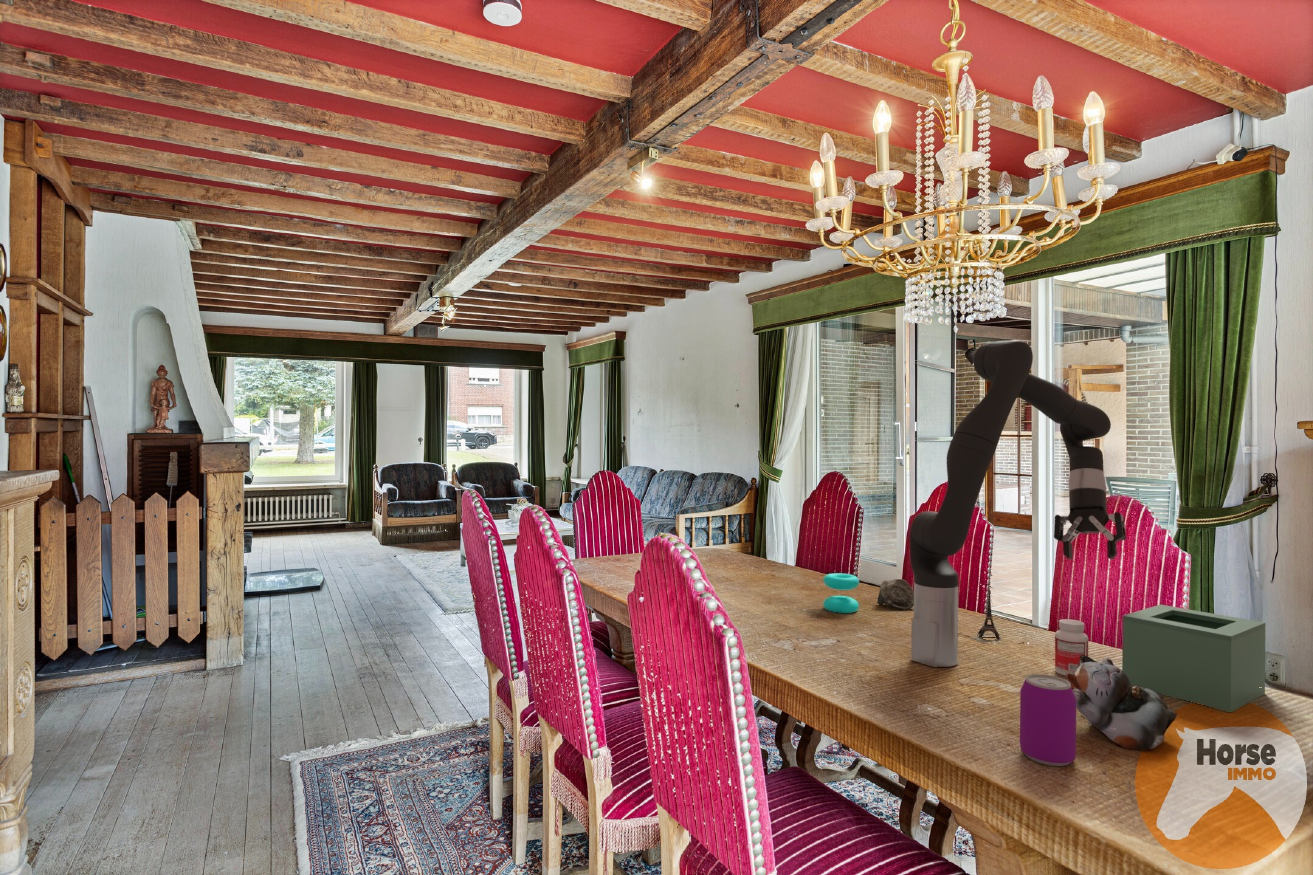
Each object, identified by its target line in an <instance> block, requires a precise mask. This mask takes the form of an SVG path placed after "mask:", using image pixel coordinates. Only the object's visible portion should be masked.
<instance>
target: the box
mask: <svg viewBox="0 0 1313 875" xmlns="http://www.w3.org/2000/svg"><path fill="white" fill-rule="evenodd" d="M1121 650H1122V654H1121V655H1122V657H1121V658H1122V659H1121V661H1122V664H1121V665H1122V668H1121V670H1122V671H1123V672H1124V673H1125V674H1126V675H1127V677H1128V678H1129V680H1130V682H1131V684H1132V685H1133V686H1138V687H1143V688H1147V689H1150V690H1152V691H1154V692H1155V693H1157V694H1158V695H1160V696H1161V695H1162V696H1166V697H1170V698H1173V699H1176V698H1177V700H1180V699H1181V700H1182V701H1184V700H1186V701H1185V702H1188V701H1192V702H1194V703H1193V704H1195V703H1199V704H1203V705H1206V706H1205V707H1207V706H1209V707H1208V708H1211V707H1213V708H1212V709H1214V708H1215V710H1219V711H1222V712H1227V713H1229V712H1231V713H1233V712H1234V710H1235V711H1236V710H1238V709H1240V708H1241V707H1244V706H1246V705H1247V704H1250V703H1251V702H1253V701H1254V700H1256V699H1258V698H1260V697H1262V696H1263V695H1266V694H1265V693H1266V622H1263V621H1258V620H1252V619H1245V618H1240V617H1234V616H1228V615H1224V614H1223V615H1222V614H1217V613H1211V612H1206V611H1199V610H1194V609H1190V608H1189V609H1188V608H1182V607H1176V606H1171V605H1165V604H1158V605H1155V606H1151V607H1148V608H1145V609H1144V608H1143V609H1142V610H1141V609H1140V610H1138V611H1134V612H1131V613H1128V614H1124V615H1122V649H1121ZM1259 687H1262V688H1259ZM1192 702H1191V703H1192ZM1199 704H1198V705H1199ZM1203 705H1202V706H1203Z"/></svg>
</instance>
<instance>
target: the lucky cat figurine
mask: <svg viewBox="0 0 1313 875" xmlns="http://www.w3.org/2000/svg"><path fill="white" fill-rule="evenodd" d="M1065 680H1067V681H1068V682H1070V684H1071V687H1072V690H1073V693H1074V695H1075V698H1076V710H1078V712H1080V713H1081V715H1082V716H1083V717H1084V718H1085V719H1086V720H1087V724H1088V725H1092V726H1093V727H1095V728H1096V729H1097V730H1099V731H1100V732H1102V733H1103V734H1104V735H1105V736H1107V738H1108V739H1109V740H1111V741H1112V742H1113V743H1115V744H1116V745H1117V746H1119V747H1121V748H1123V749H1125V750H1126V749H1127V750H1134V751H1139V752H1146V751H1148V750H1149V749H1155V748H1156V747H1158V746H1160V744H1162V743H1163V742H1164V739H1165V733H1166V732H1167V730H1168V729H1169V728H1170V727H1171V725H1172V724H1173V722H1174V721H1175V720H1176V719H1177V714H1178V713H1177V712H1175V711H1174V710H1172V709H1170V708H1169V707H1168V705H1167V703H1166V702H1165V700H1164V699H1163V697H1162V696H1161V695H1160V694H1157V693H1155V692H1154V691H1152V690H1150V689H1147V688H1143V687H1138V686H1133V685H1132V684H1131V682H1130V680H1129V678H1128V677H1127V675H1126V674H1125V673H1124V672H1123V671H1122V668H1119V667H1117V666H1116V665H1115V664H1114V662H1113V660H1112V659H1110V658H1109V657H1104V658H1103V659H1102V660H1101V661H1100V662H1098V661H1096V660H1094V659H1093V658H1091V657H1090V656H1089V655H1088V656H1085V655H1081V656H1080V661H1079V665H1078V668H1077V671H1076V672H1075V673H1074V674H1071V673H1067V674H1066V676H1065Z"/></svg>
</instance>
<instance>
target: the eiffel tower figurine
mask: <svg viewBox="0 0 1313 875" xmlns="http://www.w3.org/2000/svg"><path fill="white" fill-rule="evenodd" d="M990 587H991V586H990V585H989V587H988V588H989V589H988V590H987V593H988V598H987V600H988V601H987V609H986V610H987V611H986V615H985V620H984V622H983V623H982V626H981V628H980V629H979V631H978V632H977V633H978V634H977V633H976V634H977V636H971V637H969V638H970V639H973V640H975V641H976V640H977V641H979V642H982V643H984V642H991V644H990V645H996V644H1003V645H1006V644H1005V643H1006V642H1004V643H994V642H997V641H999V640H1000V641H1001V642H1002V638H1001V635H1000V633H999V632H998V630H997V628H996V624H995V623H994V620H993V618H994V617H993V615H992V603H991V590H990V589H991V588H990ZM989 621H990V623H989ZM986 632H992V633H993V634H992V633H991V634H990V633H986ZM961 634H962V635H961V636H963V635H964V634H963V633H961ZM984 635H995V636H996V637H982V636H984ZM999 636H1000V637H999ZM983 638H996V639H997V640H986V639H983ZM992 642H993V644H992Z"/></svg>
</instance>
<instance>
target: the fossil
mask: <svg viewBox="0 0 1313 875" xmlns="http://www.w3.org/2000/svg"><path fill="white" fill-rule="evenodd" d="M876 603H877V605H878V604H881V605H880V606H882V605H884V604H885V605H887V606H888V607H889V608H891V609H893V610H896V611H897V610H898V611H909V610H911V609H912V607H913V608H914V587H912V586H910V583H909V582H907V580H905V579H903V578H894V579H889V580H883V581H882V582H881V584H880V587H879V593H878V596H877V602H876Z"/></svg>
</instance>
